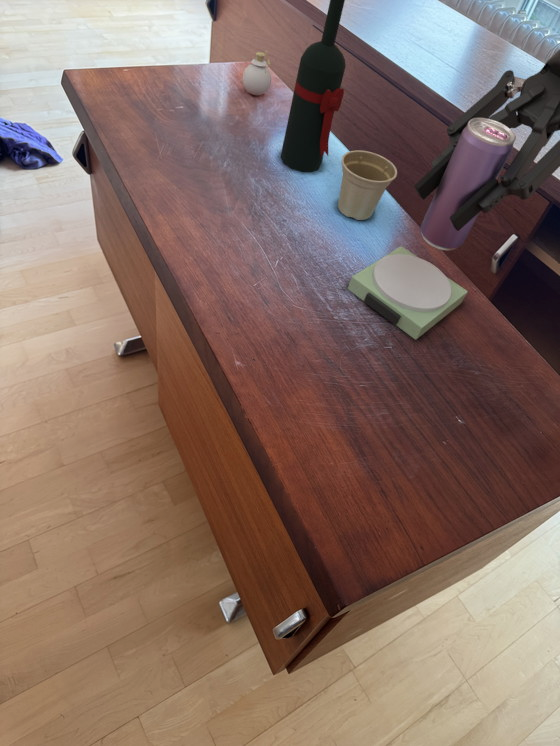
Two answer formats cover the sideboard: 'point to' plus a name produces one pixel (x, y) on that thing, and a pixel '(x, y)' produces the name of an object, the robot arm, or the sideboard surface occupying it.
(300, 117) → the wine bottle
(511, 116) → the robot arm
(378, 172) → the flower pot
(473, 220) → the beverage can
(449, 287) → the scale
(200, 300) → the sideboard surface
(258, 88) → the ornament
